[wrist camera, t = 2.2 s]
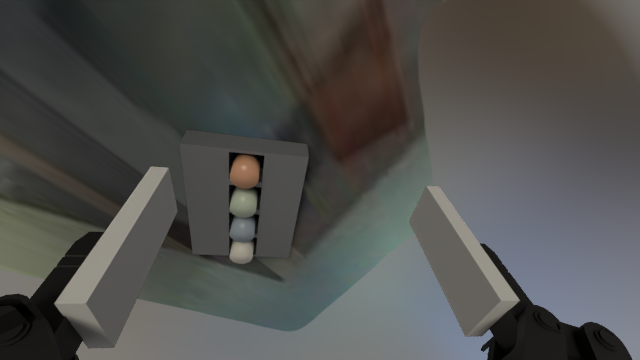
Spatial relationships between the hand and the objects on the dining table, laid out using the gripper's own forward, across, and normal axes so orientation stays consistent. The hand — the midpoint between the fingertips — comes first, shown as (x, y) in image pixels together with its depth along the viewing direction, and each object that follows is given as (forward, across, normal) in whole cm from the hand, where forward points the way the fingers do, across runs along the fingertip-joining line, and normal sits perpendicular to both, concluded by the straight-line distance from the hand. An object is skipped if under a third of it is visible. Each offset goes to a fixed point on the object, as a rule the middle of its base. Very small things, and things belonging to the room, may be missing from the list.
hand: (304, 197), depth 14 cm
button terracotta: (+25, -6, -15) cm, 29 cm away
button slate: (+25, -6, -27) cm, 37 cm away
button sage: (+25, -6, -21) cm, 33 cm away
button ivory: (+25, -6, -33) cm, 42 cm away
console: (+28, -6, -24) cm, 37 cm away
